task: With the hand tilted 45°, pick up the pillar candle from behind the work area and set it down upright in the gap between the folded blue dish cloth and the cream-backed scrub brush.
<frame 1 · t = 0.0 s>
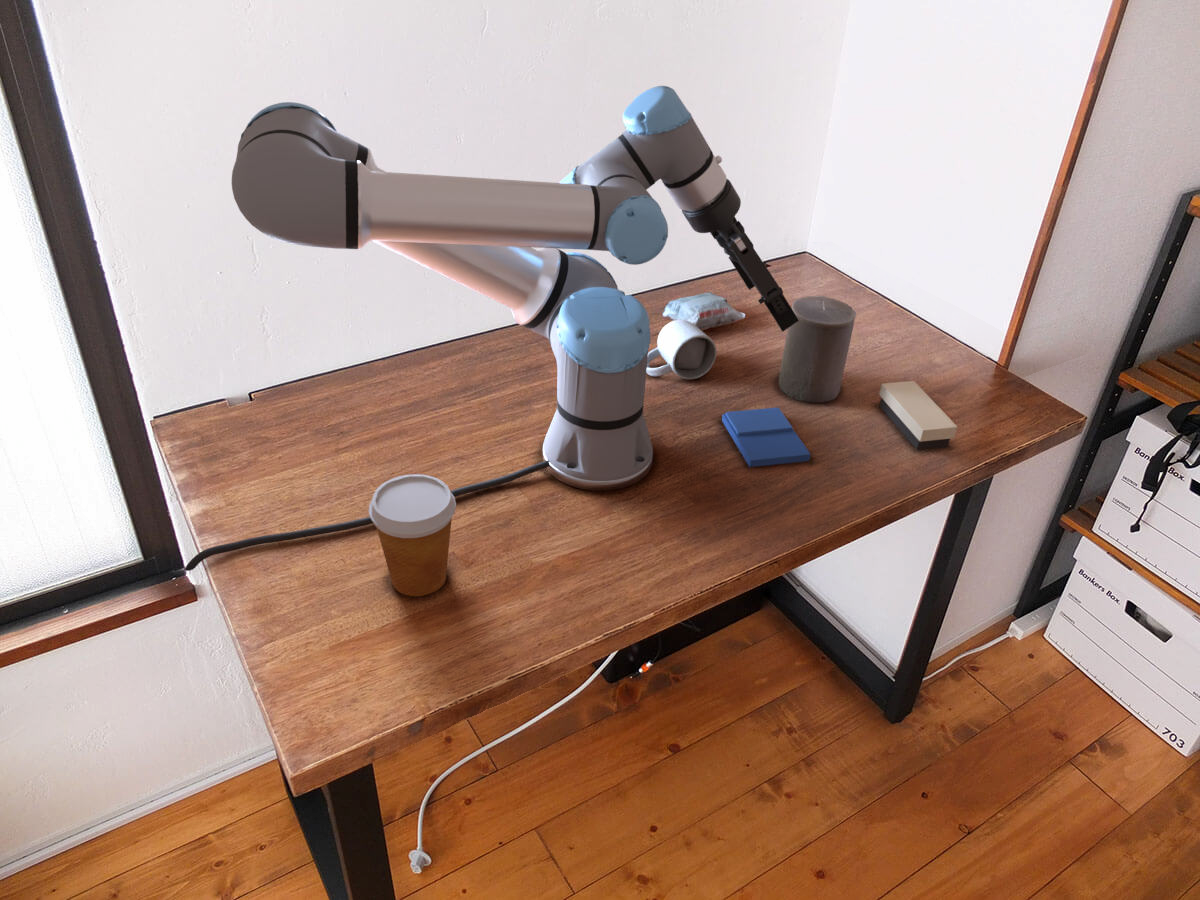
hand: (772, 303, 141), 15 cm above the table, tool tilted 35°, fingers open, 13 cm apart
blue dish cloth: (764, 440, 139), on the table
disposable coffee cup: (419, 579, 112), on the table
ceramic mug: (675, 370, 154), on the table
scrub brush: (912, 425, 143), on the table
pillar candle: (808, 388, 152), on the table
packaged food: (702, 326, 167), on the table
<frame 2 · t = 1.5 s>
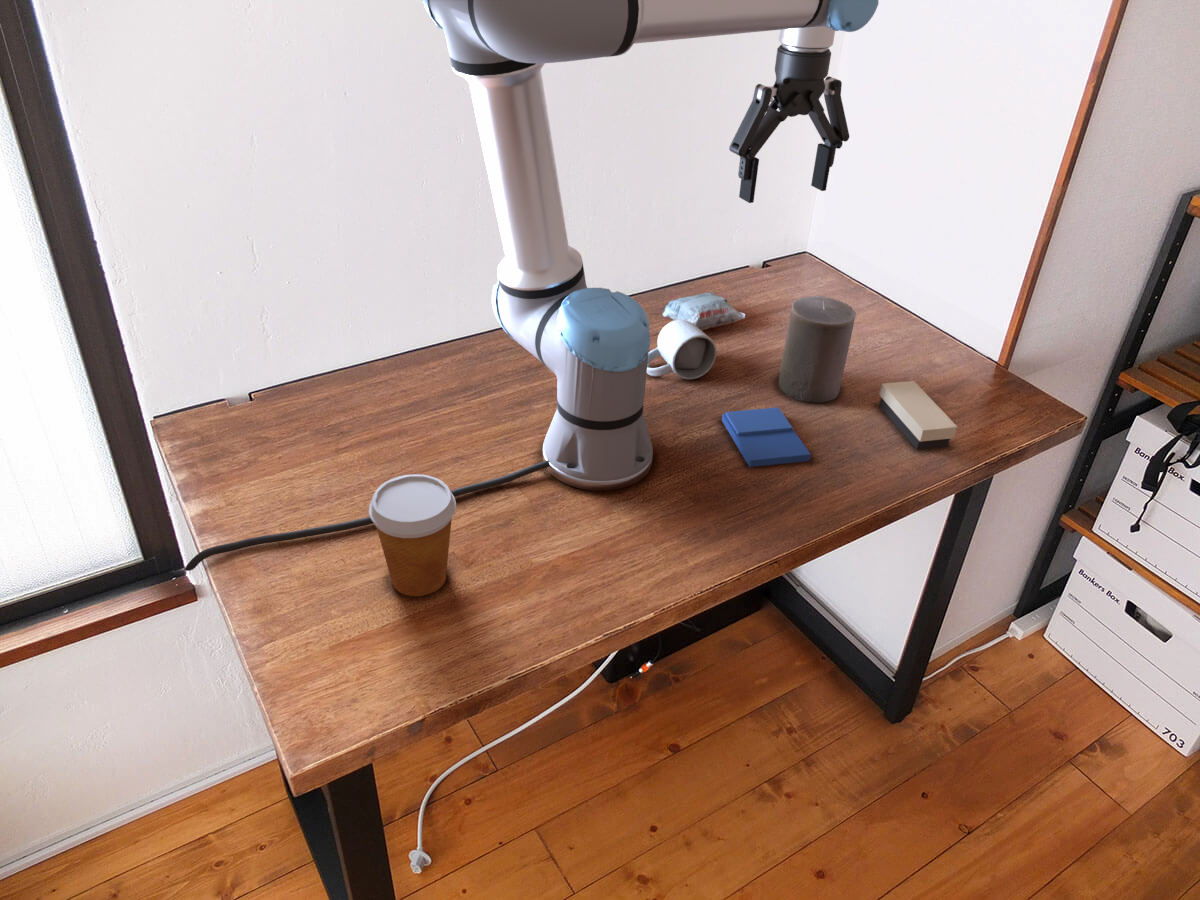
hand: (782, 194, 146), 27 cm above the table, tool pointing down, fingers open, 13 cm apart
nothing on the table moved.
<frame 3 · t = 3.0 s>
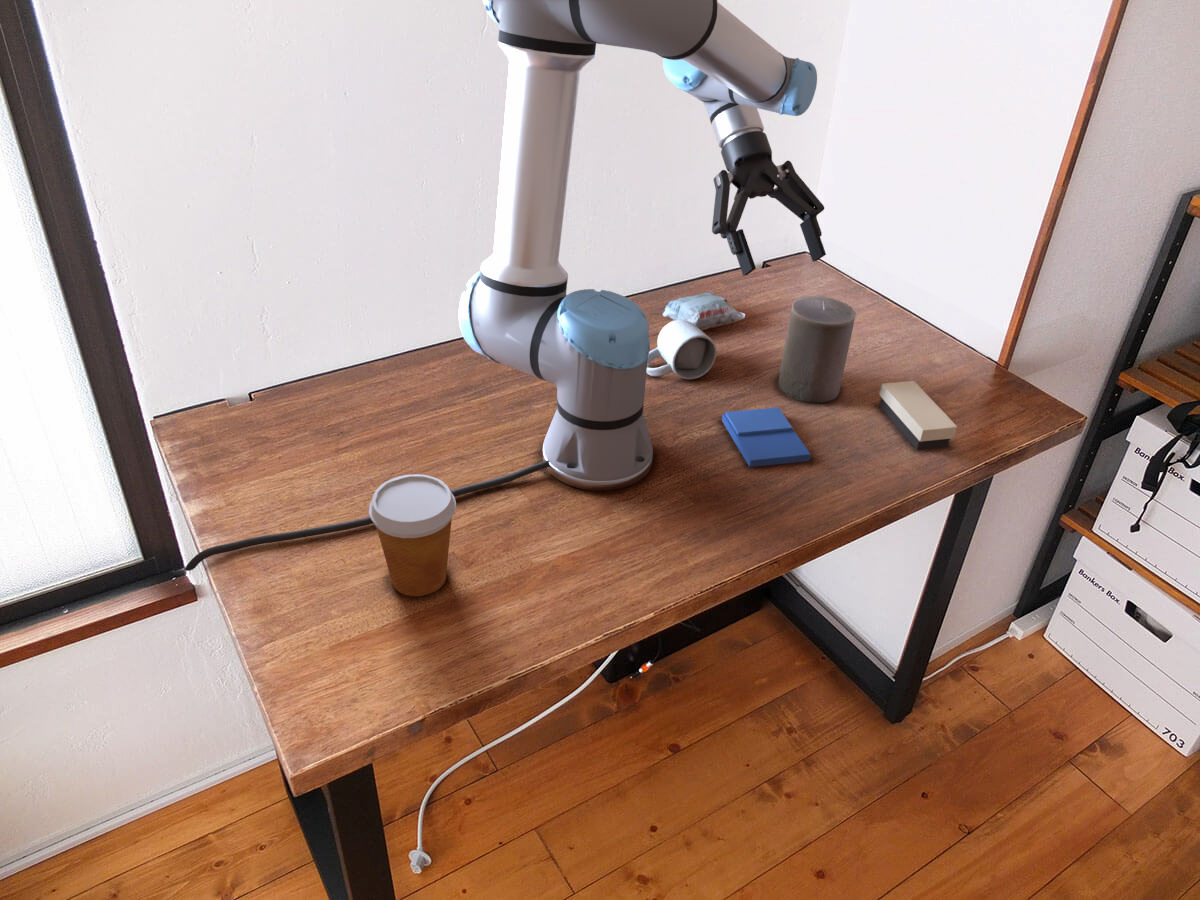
hand: (785, 265, 149), 16 cm above the table, tool tilted 45°, fingers open, 13 cm apart
nothing on the table moved.
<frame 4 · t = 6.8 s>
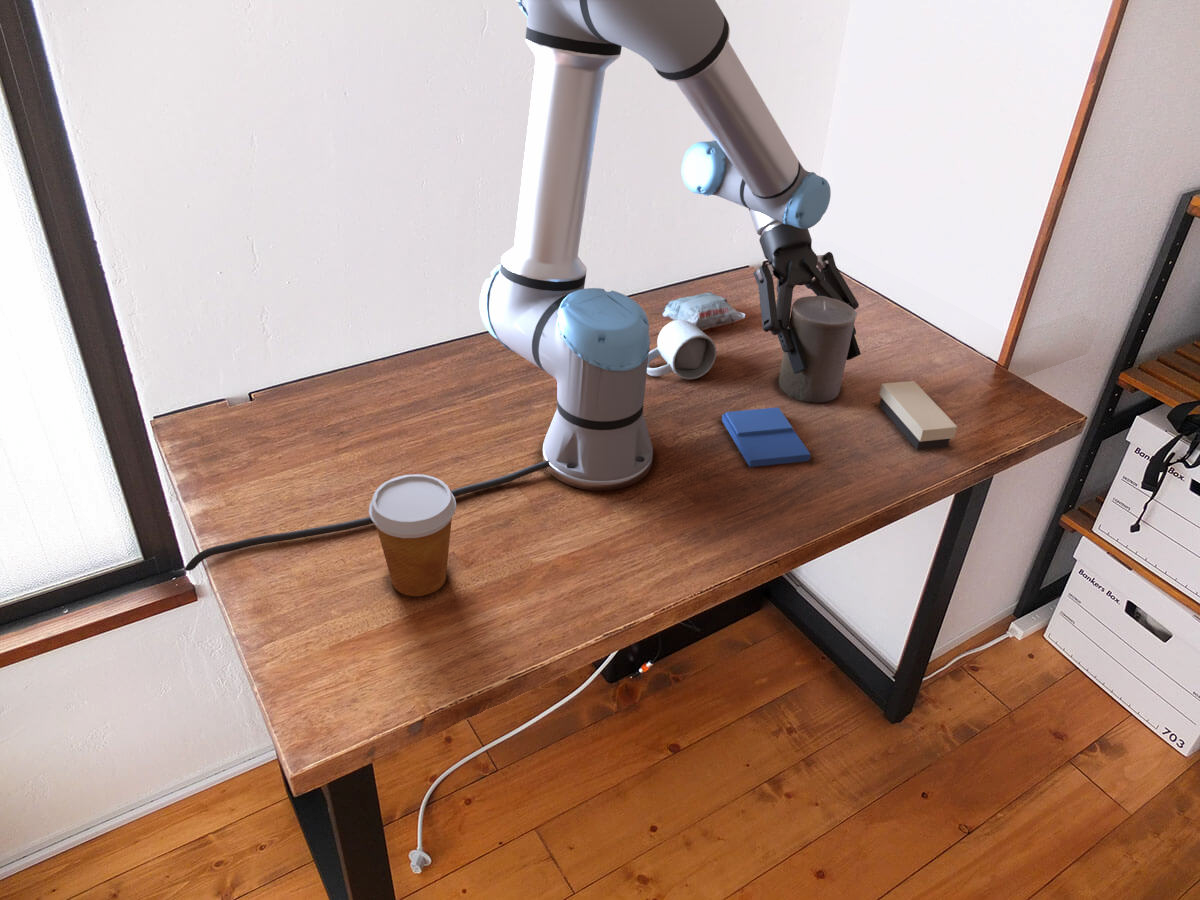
hand: (827, 363, 146), 6 cm above the table, tool tilted 45°, fingers closed on pillar candle, 9 cm apart
pillar candle: (808, 388, 152), on the table, touching gripper
everything else where it was.
when the fingers open (6 cm above the table, at t = 15.3 s): pillar candle stays where it is, on the table.
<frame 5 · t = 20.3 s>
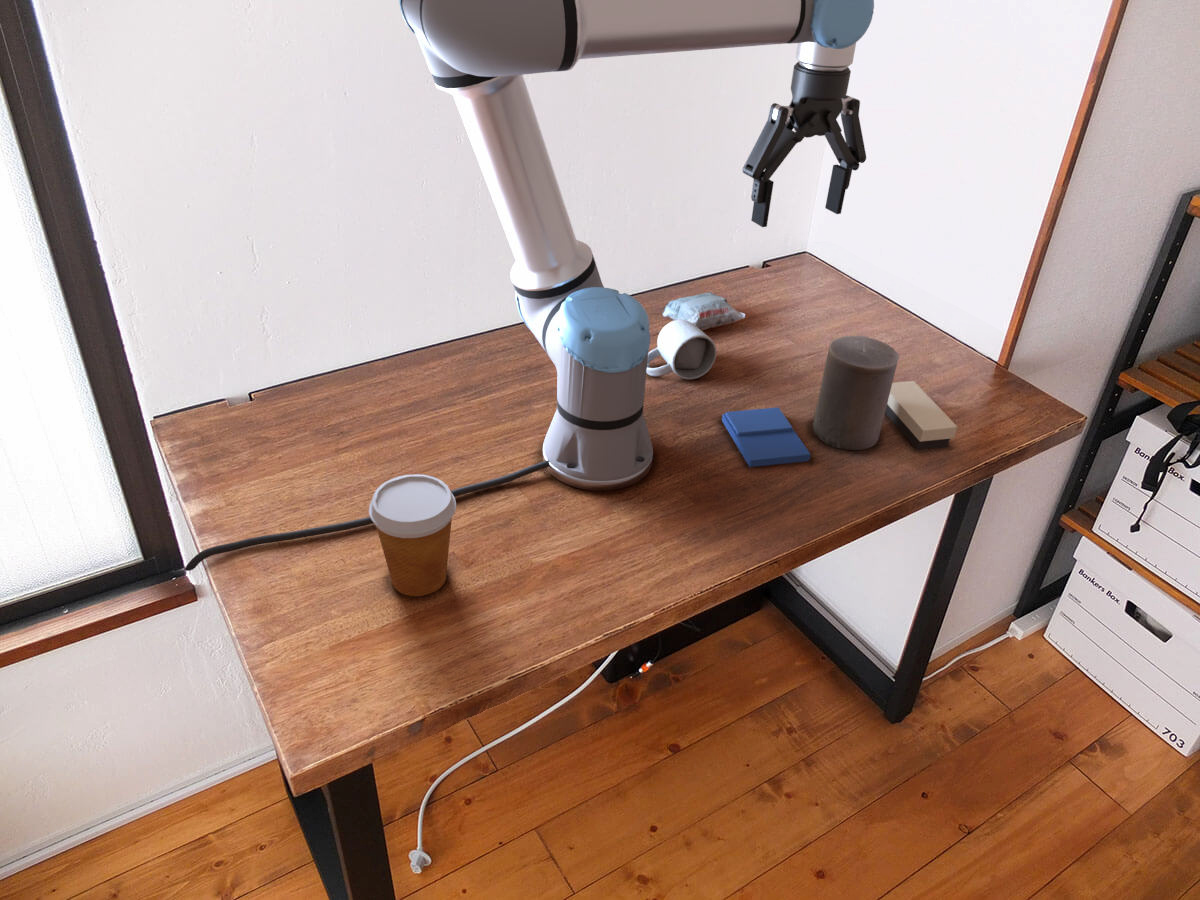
hand: (796, 217, 139), 27 cm above the table, tool pointing down, fingers open, 13 cm apart
pillar candle: (845, 433, 141), on the table
everything else where it was.
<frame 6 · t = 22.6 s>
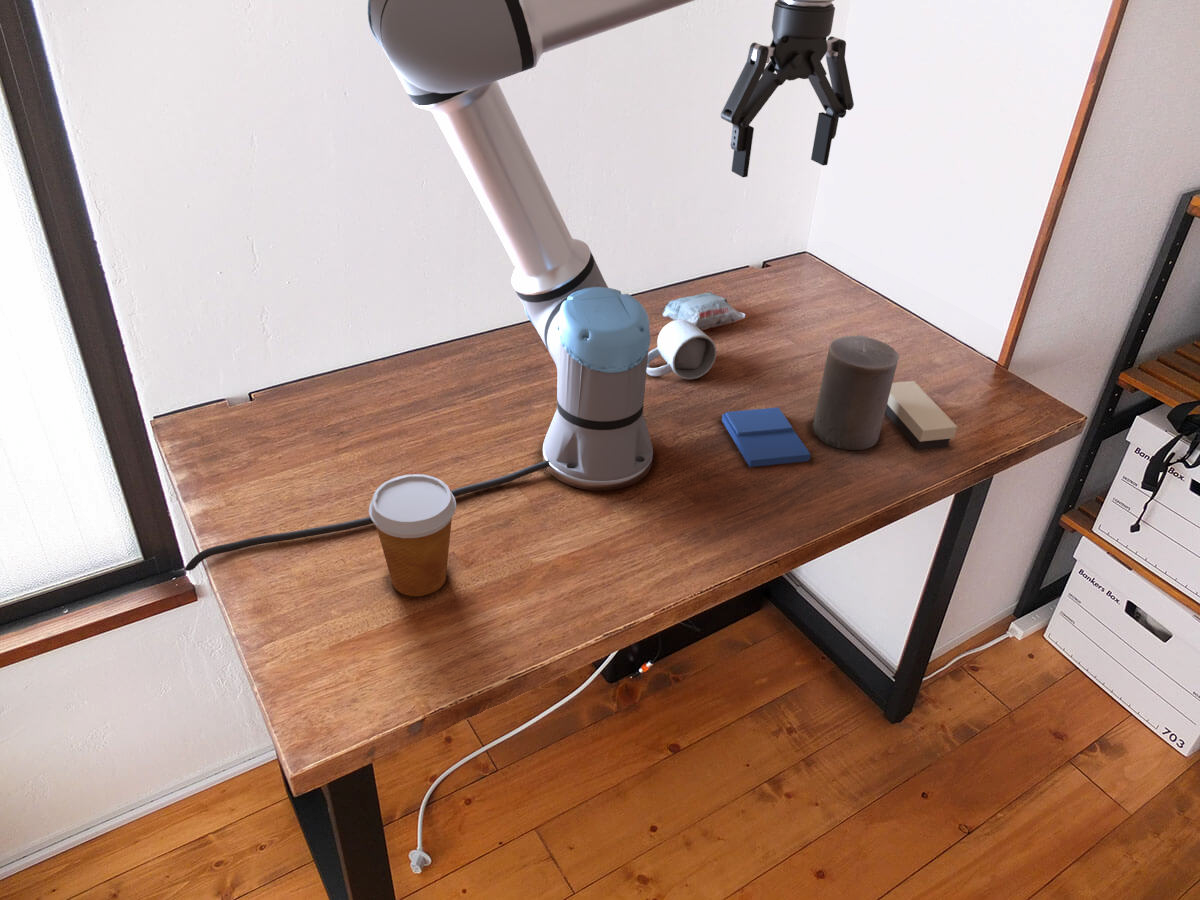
hand: (780, 168, 132), 35 cm above the table, tool pointing down, fingers open, 13 cm apart
nothing on the table moved.
at the end: pillar candle inside the target area (0.0 cm from its centre), on the table; pillar candle tilted 0°; the gripper is holding nothing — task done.
